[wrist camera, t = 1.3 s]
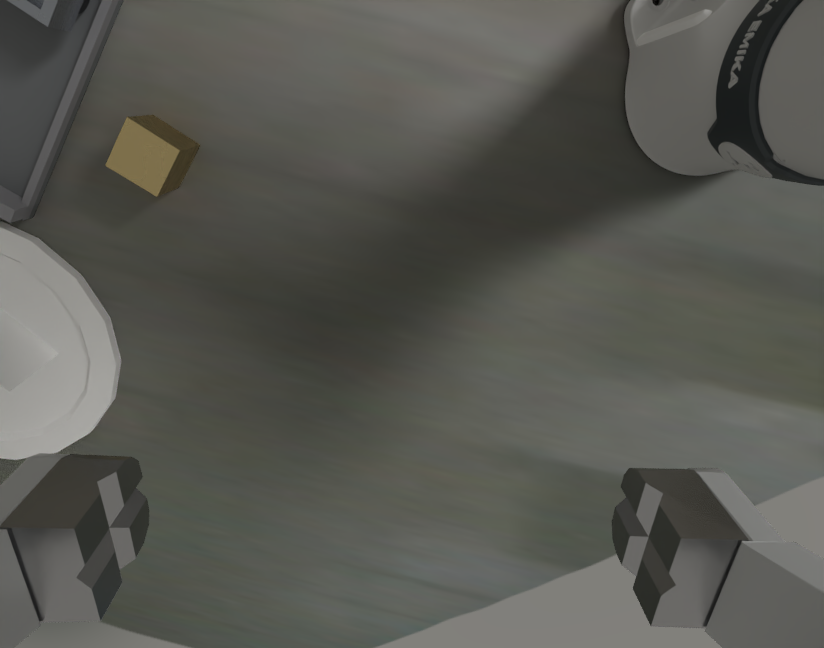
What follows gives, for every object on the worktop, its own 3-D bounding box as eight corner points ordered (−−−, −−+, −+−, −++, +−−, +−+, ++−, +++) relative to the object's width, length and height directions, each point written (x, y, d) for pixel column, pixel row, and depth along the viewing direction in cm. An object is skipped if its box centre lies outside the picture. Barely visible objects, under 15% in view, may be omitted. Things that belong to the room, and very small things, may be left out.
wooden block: (153, 114, 41) (126, 116, 37) (200, 145, 42) (179, 150, 38) (133, 158, 42) (105, 165, 38) (179, 187, 43) (156, 196, 39)
